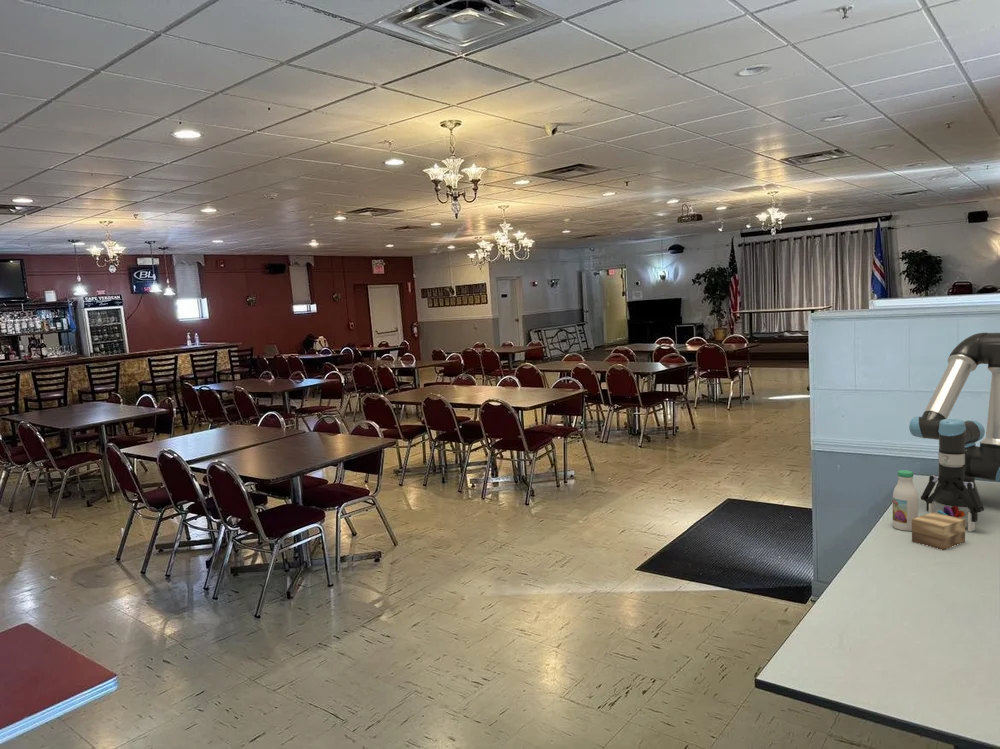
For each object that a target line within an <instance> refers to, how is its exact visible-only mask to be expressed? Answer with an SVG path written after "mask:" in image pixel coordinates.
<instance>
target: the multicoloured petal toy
mask: <svg viewBox="0 0 1000 749" xmlns="http://www.w3.org/2000/svg"><path fill="white" fill-rule="evenodd" d="M942 509H943V510H940V509H938V510H937V513H939V514H943V515H948V516H952V517H956V518H961V519H965V529H966V528H968V519H967V518H966V517H965V515H966V513H965V512H964V511H962V510H960V509H959V506H954V505H951V507H950V505H944V506H943V508H942Z"/></svg>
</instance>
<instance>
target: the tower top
mask: <svg viewBox="0 0 1000 749" xmlns="http://www.w3.org/2000/svg"><path fill="white" fill-rule="evenodd" d="M965 519H966V518H965ZM965 519H961V518H956V517H952V516H948V515H943V514H939V513H938V512H935V513H934V512H933V513H930V514H929V513H927V514H924V515H920V516H918V517H917V518H914V519H912V531H914V532H917V533H921V534H925V535H929V536H933V537H937V538H941V539H945V538H948V537H951V536H954V535H957V534H959V533H962V532H965V533H966V528H965ZM912 531H911V532H912Z"/></svg>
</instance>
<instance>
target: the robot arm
mask: <svg viewBox="0 0 1000 749" xmlns="http://www.w3.org/2000/svg"><path fill="white" fill-rule="evenodd" d="M947 364H948V365H947V366H946V368H945V370H944V372H943V374H942V377H941V378H940V381H939V382H938V384H937V386H936V388H935V390H934V392H933V394H932V397H931V398H930V400H929V401H928V404H927V406H926V408H925V410H924V412H923V414H922V415H921V416H914V417H913V418H911V420H910V422H909V425H908V426H909V427H908V428H909V432H910V434H911V435H912V436H913V437H916V438H921V439H930V440H938V453H937V455H938V476H937V475H936V474H933V475H930V476H929V477H928V478H929V479H928V483H927V484H926V487H925V489H924V491H923V492H922V495H921V496H920V500H921V501H924V502H925V503H926V512H928V514H930V513H933V512H934V513H936V502H937V503H940V504H943V505H946V506H957V507H967V508H968V510H969V511H968V514H967V521H968V525H967V531H968V532H969V533H971V532H974V531H975V530H976V527H975V526H976V522H978V518H979V516H978V515H979V513H981V512H984V511H985V508H984V506H983V503H982V501H981V494H980V493H979V489H978V487H977V485H976V478H977V479H983V480H987V481H988V480H990V481H993V482H994V481H995V482H998V483H1000V332H979V333H978V332H977V333H975V334H972V335H970V336H968V337H966V338H965V339H963V340H962V341H961V342H959V343H958V344H957V345H956V346H955V347H954V349H953V350H952V351H951V352H950V353H949V356H948V357H947ZM982 364H983V365H987V370H988V371H990V372H991V382H990V391H989V401H988V412H987V420H986V421H987V422H986V430H985V427H984V425H983V424H982V423H980V422H979V421H978V420H977V421H976V420H965V421H964V420H963V419H959V418H958V419H956V418H948V417H949V416H950V414H951V412H952V410H953V408H954V405H955V404H956V402H957V399H958V398H959V395H960V394H961V392H962V390H963V388H964V386H965V384H966V382H967V380H968V378H969V376H970V374H971V372H974V371H976V369H977V367H978V366H979V365H982ZM984 437H985V438H984ZM978 441H980V442H979V446H977V445H976V443H977V442H978ZM933 489H934V491H933ZM932 491H933V492H932Z"/></svg>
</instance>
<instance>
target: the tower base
mask: <svg viewBox="0 0 1000 749" xmlns="http://www.w3.org/2000/svg"><path fill="white" fill-rule="evenodd" d="M911 542H912V543H916V544H919V543H920V544H919V545H922V544H924V545H923V546H926V545H928V546H927V547H929V546H931V548H933V547H934V549H937V548H938V549H937V550H940V549H942V550H941V551H945V550H948V549H951V548H953V547H952V546H954V545H956V546H958V545H957V544H959V545H961V544H960V543H962V544H964V543H966V531H965V532H962V533H959V534H957V535H954V536H951V537H948V538H945V539H941V538H937V537H933V536H929V535H925V534H921V533H917V532H914V531H911ZM950 547H951V548H950ZM954 547H955V546H954ZM947 548H948V549H947ZM944 549H945V550H944Z"/></svg>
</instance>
